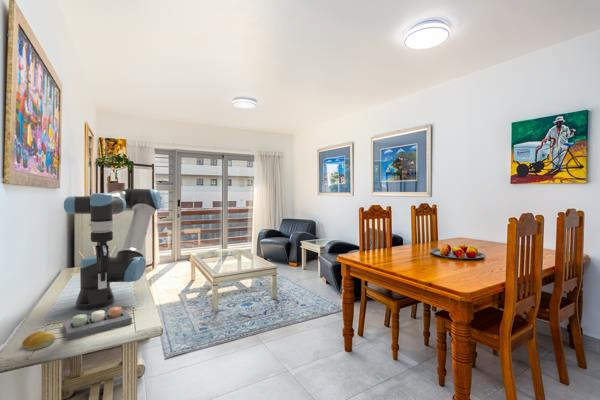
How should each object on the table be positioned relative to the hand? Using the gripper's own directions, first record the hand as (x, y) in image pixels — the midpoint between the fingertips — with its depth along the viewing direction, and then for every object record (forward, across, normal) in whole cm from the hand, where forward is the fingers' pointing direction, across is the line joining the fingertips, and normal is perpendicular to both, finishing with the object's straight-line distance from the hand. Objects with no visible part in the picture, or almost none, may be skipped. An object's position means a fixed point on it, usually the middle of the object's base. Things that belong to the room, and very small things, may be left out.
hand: (102, 288), depth 123 cm
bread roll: (+14, +6, -20) cm, 25 cm away
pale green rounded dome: (+13, +2, -8) cm, 15 cm away
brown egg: (+13, +2, +4) cm, 14 cm away
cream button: (+13, +2, -2) cm, 13 cm away
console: (+14, +2, -2) cm, 15 cm away
